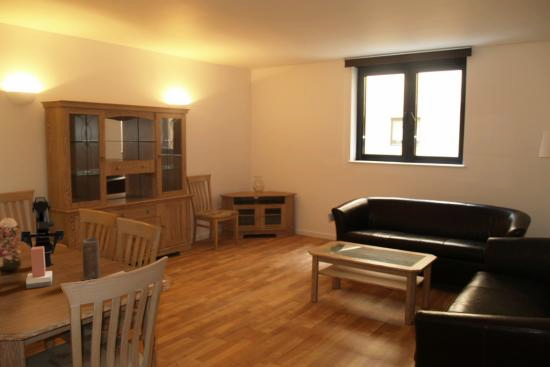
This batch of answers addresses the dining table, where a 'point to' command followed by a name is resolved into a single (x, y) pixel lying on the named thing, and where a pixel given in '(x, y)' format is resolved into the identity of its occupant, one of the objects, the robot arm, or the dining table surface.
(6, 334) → the dining table surface
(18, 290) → the dining table surface
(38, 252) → the top brick
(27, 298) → the dining table surface
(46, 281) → the base block
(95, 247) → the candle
